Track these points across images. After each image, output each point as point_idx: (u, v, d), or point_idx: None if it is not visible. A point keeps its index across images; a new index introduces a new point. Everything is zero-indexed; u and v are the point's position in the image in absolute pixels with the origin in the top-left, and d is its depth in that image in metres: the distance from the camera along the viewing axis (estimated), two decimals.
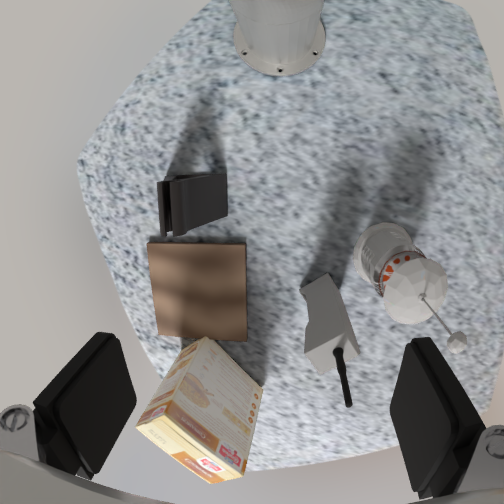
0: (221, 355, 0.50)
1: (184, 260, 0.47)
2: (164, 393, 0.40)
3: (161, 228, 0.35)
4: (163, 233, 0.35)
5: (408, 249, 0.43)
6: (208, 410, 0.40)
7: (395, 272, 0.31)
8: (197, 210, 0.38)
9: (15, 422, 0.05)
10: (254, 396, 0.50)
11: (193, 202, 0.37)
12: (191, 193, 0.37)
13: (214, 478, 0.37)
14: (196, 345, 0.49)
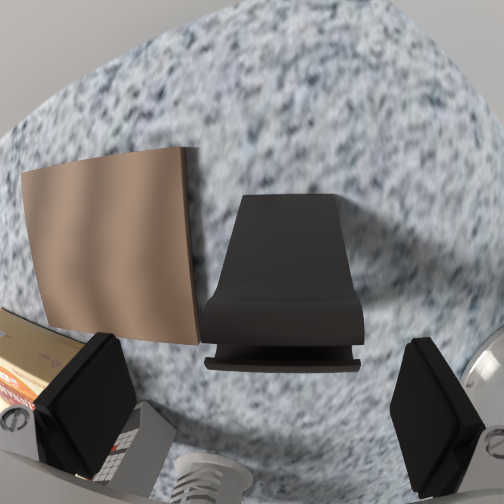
0: None
1: (153, 233, 0.22)
2: None
3: (224, 327, 0.12)
4: (209, 335, 0.12)
5: None
6: None
7: None
8: None
9: (15, 422, 0.05)
10: None
11: None
12: None
13: None
14: None
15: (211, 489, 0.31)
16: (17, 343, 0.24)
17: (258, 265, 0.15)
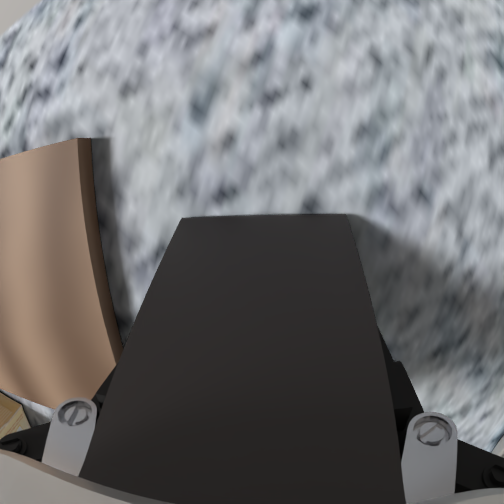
0: None
1: (53, 280, 0.12)
2: None
3: None
4: None
5: None
6: None
7: None
8: None
9: (75, 416, 0.06)
10: None
11: None
12: None
13: None
14: None
15: None
16: None
17: (175, 417, 0.06)
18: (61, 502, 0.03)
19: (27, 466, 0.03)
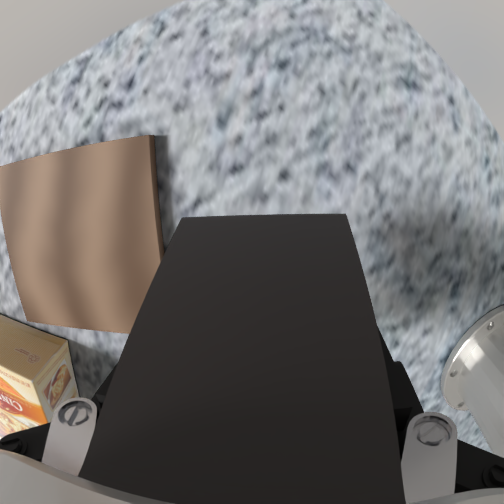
0: None
1: (123, 223, 0.21)
2: None
3: None
4: None
5: None
6: None
7: None
8: None
9: (75, 416, 0.06)
10: None
11: None
12: None
13: None
14: (66, 369, 0.26)
15: None
16: None
17: (175, 416, 0.06)
18: (61, 502, 0.03)
19: (27, 466, 0.03)
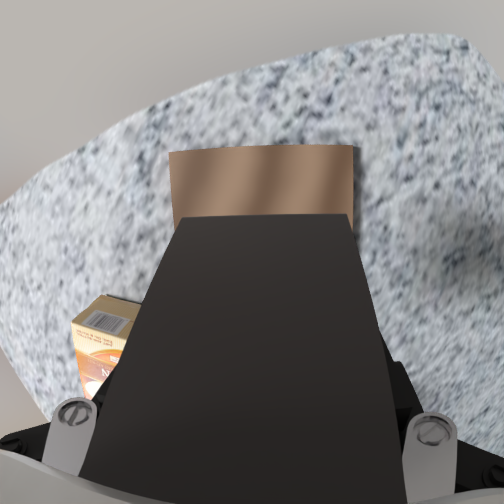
0: None
1: (324, 213, 0.27)
2: None
3: None
4: None
5: None
6: None
7: None
8: None
9: (75, 416, 0.06)
10: None
11: None
12: None
13: None
14: None
15: None
16: None
17: (174, 417, 0.06)
18: (61, 502, 0.03)
19: (27, 466, 0.03)
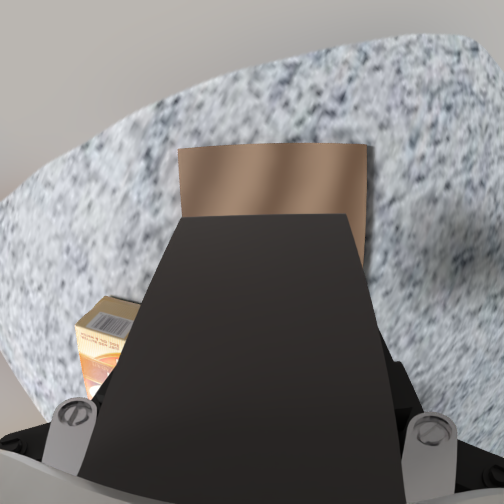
0: None
1: None
2: None
3: None
4: None
5: None
6: None
7: None
8: None
9: (75, 416, 0.06)
10: None
11: None
12: None
13: None
14: None
15: None
16: None
17: (173, 417, 0.06)
18: (61, 502, 0.03)
19: (27, 466, 0.03)
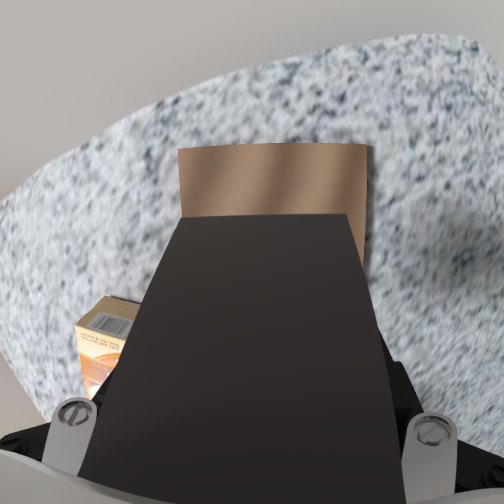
0: None
1: None
2: None
3: None
4: None
5: None
6: None
7: None
8: None
9: (75, 416, 0.06)
10: None
11: None
12: None
13: None
14: None
15: None
16: None
17: (173, 417, 0.06)
18: (61, 502, 0.03)
19: (27, 466, 0.03)
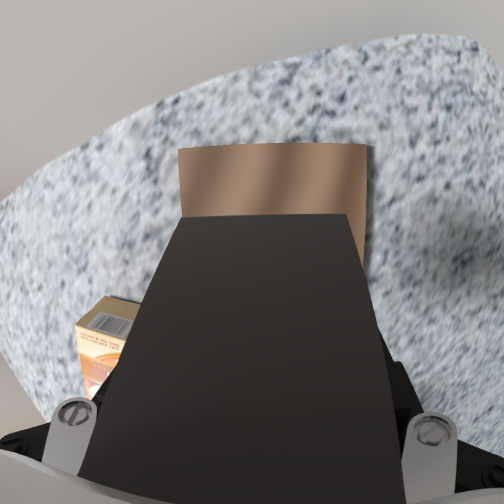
0: None
1: None
2: None
3: None
4: None
5: None
6: None
7: None
8: None
9: (75, 416, 0.06)
10: None
11: None
12: None
13: None
14: None
15: None
16: None
17: (173, 417, 0.06)
18: (61, 502, 0.03)
19: (27, 466, 0.03)
